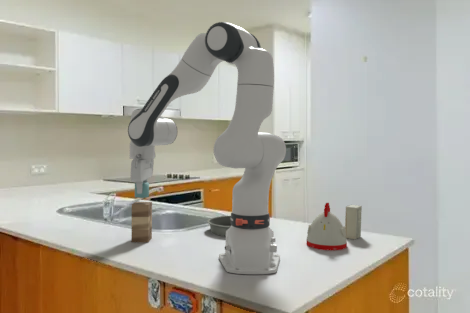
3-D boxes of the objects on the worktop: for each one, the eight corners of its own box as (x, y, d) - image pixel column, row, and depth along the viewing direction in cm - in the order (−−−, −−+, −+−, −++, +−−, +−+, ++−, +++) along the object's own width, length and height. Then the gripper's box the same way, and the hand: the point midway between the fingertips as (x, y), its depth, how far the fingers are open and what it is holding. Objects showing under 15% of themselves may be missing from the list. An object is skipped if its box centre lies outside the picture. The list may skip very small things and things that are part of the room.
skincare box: (350, 235, 159) (350, 204, 159) (361, 236, 157) (362, 205, 156) (344, 238, 154) (345, 206, 154) (355, 239, 152) (356, 207, 151)
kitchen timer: (302, 247, 140) (303, 204, 139) (310, 239, 152) (311, 199, 152) (344, 252, 134) (345, 207, 134) (348, 242, 147) (349, 201, 147)
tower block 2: (148, 229, 144) (148, 217, 143) (131, 229, 144) (131, 216, 143) (151, 226, 150) (151, 214, 149) (135, 226, 150) (135, 213, 149)
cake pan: (268, 226, 175) (268, 215, 175) (267, 239, 151) (267, 227, 151) (212, 224, 178) (212, 214, 178) (202, 237, 153) (202, 225, 153)
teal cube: (147, 197, 144) (147, 183, 144) (133, 197, 144) (133, 183, 144) (150, 195, 149) (150, 182, 149) (136, 195, 149) (136, 182, 149)
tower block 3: (148, 242, 144) (148, 229, 144) (131, 242, 144) (131, 229, 144) (151, 238, 150) (151, 226, 150) (135, 238, 150) (135, 226, 150)
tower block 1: (148, 217, 143) (148, 204, 143) (131, 216, 143) (131, 204, 143) (151, 214, 149) (151, 202, 149) (135, 213, 149) (135, 201, 149)
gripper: (144, 155, 135) (144, 196, 136) (156, 153, 156) (155, 189, 156) (125, 154, 135) (125, 196, 136) (139, 152, 156) (139, 188, 156)
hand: (141, 192), depth 146 cm, fingers closed on teal cube, 5 cm apart
